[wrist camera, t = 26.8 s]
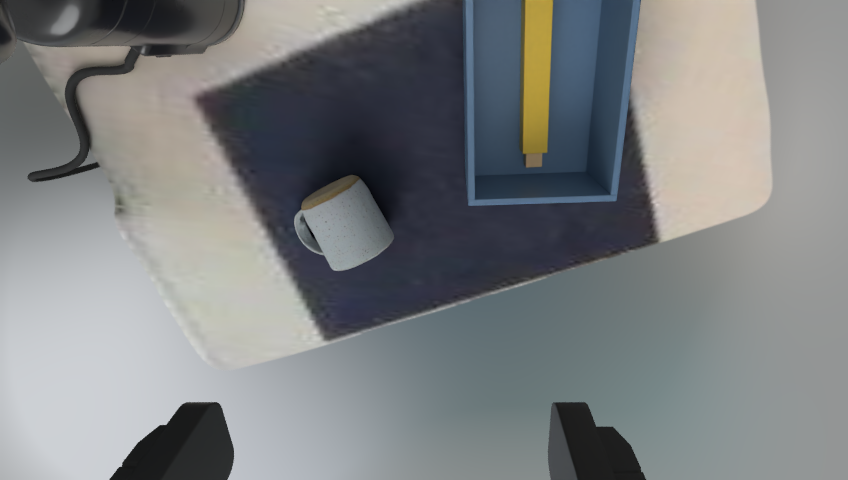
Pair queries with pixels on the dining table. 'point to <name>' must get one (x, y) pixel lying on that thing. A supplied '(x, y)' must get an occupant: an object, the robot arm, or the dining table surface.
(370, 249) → the ceramic mug
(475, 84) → the blue open rectangular box
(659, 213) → the dining table surface
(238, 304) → the dining table surface
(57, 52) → the dining table surface
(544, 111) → the pencil
